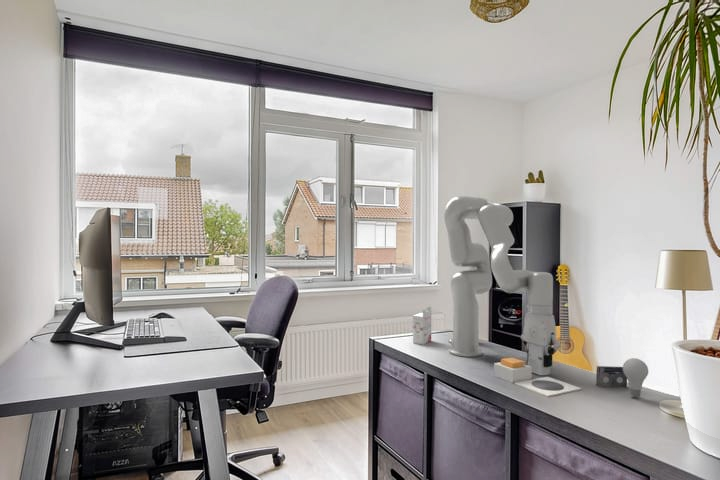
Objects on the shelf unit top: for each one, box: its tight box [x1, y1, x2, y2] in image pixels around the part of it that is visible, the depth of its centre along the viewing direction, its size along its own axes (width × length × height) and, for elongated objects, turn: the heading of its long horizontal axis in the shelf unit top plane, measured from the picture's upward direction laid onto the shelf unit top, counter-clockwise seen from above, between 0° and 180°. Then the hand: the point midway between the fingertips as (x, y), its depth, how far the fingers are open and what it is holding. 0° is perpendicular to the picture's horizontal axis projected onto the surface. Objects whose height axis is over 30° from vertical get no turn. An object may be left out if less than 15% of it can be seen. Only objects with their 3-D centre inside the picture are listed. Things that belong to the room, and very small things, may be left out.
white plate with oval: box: [514, 376, 582, 398], centre depth 134 cm, size 12×14×1 cm
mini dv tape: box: [595, 365, 628, 389], centre depth 135 cm, size 8×2×6 cm, turn 86°
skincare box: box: [527, 341, 552, 376], centre depth 148 cm, size 6×4×12 cm
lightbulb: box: [622, 357, 649, 399], centre depth 125 cm, size 6×6×11 cm
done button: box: [500, 356, 525, 368], centre depth 142 cm, size 5×5×3 cm
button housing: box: [493, 361, 533, 384], centre depth 143 cm, size 8×8×4 cm
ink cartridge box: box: [412, 306, 432, 345], centre depth 189 cm, size 9×5×15 cm, turn 147°
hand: (539, 363), depth 148 cm, fingers closed on skincare box, 6 cm apart
